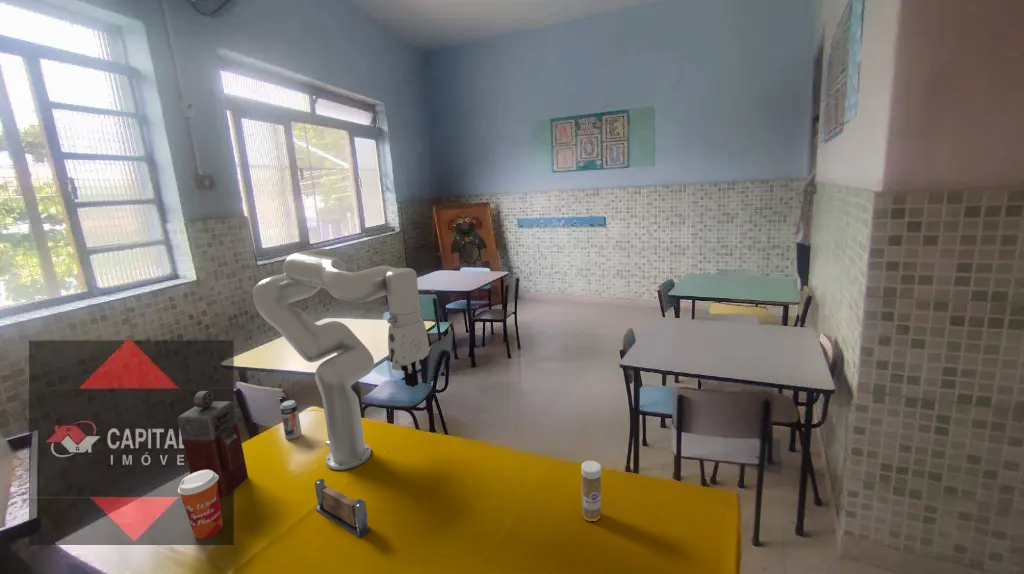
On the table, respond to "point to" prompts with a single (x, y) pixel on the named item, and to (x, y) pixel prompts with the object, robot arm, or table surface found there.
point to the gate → (339, 505)
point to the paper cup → (202, 503)
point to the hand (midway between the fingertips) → (411, 384)
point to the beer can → (290, 419)
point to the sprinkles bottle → (591, 489)
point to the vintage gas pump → (214, 441)
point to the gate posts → (360, 515)
